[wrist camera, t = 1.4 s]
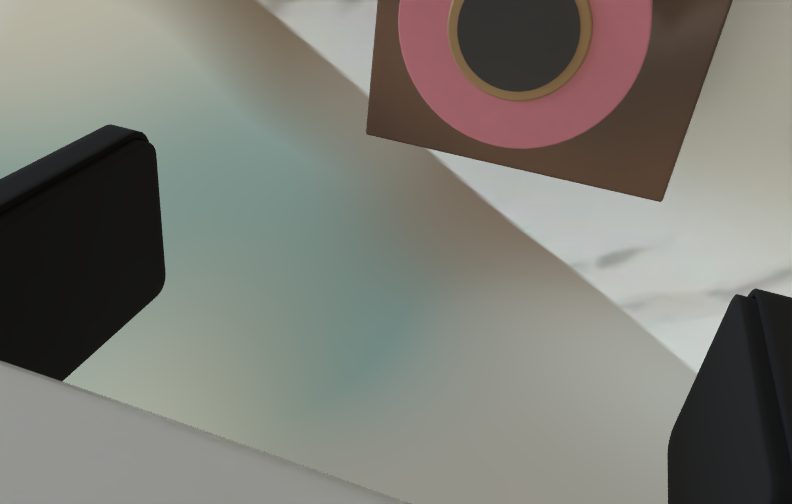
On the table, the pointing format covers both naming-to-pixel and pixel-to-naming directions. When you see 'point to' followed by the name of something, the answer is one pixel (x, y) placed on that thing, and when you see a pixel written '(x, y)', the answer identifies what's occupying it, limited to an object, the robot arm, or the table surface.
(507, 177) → the table surface
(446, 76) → the tape roll
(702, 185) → the table surface
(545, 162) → the desk shelf
